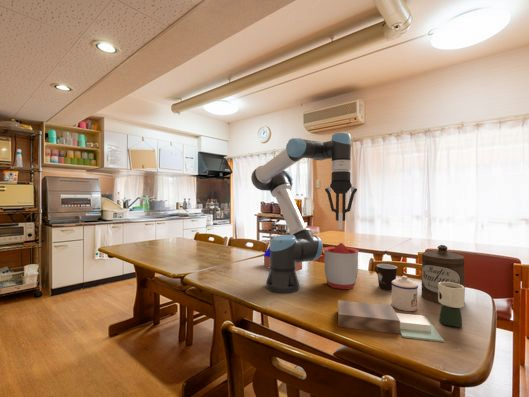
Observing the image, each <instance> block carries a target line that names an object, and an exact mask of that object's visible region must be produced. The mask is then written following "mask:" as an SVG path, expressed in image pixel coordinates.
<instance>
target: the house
mask: <svg viewBox="0 0 529 397" xmlns="http://www.w3.org/2000/svg"><path fill="white" fill-rule="evenodd" d="M264 266H266V267H265V268H268V267H270V246H269V247H268V248H267V249H266V251H265V252H264V254H263V267H264ZM300 270H303V262H299V263H296V264H295V271H296V272H298V271H300Z"/></svg>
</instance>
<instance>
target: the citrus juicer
mask: <svg viewBox="0 0 529 397" xmlns="http://www.w3.org/2000/svg"><path fill="white" fill-rule="evenodd" d="M323 250H324V274H325V280H326V282H327V284H328V286H329V287H331V288H333V289H342V290H344V289H345V290H350V289H353V288H354V287H355V285H356V281H357V278H358V273H359V252H360V250H359V249H357V248H354V247H348V246H346V245H345V244H344V243H342V242H340V243H339V244H337V246H327V247H324V248H323Z"/></svg>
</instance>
